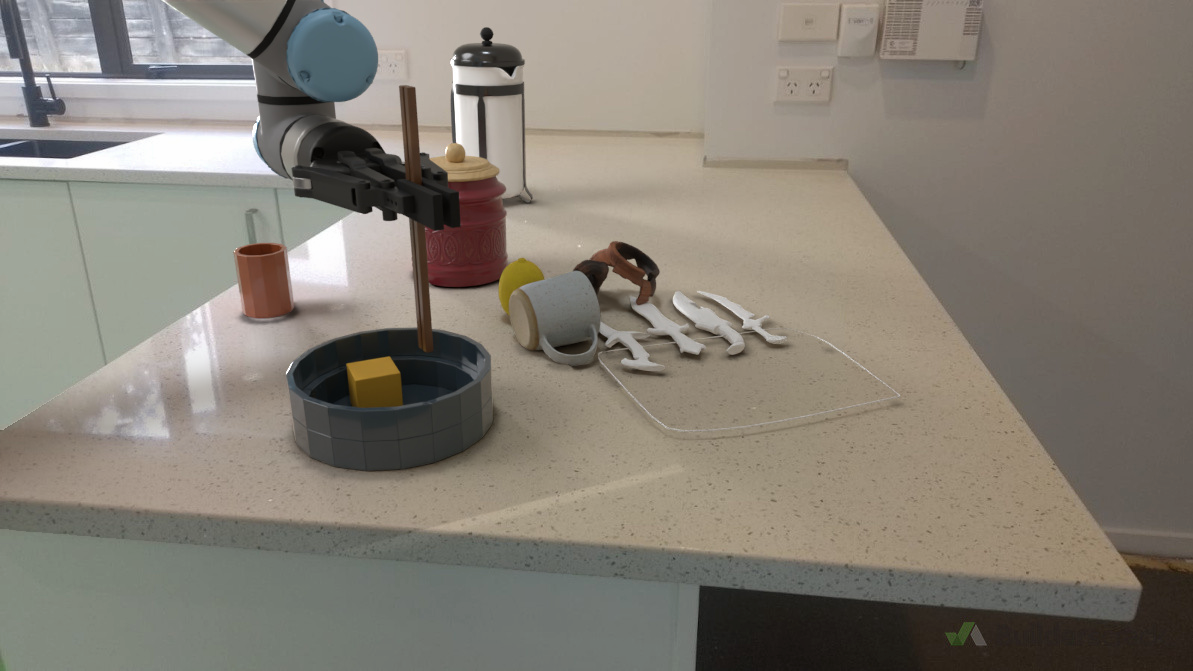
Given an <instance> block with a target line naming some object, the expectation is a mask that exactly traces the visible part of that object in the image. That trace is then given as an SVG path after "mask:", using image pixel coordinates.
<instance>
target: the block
mask: <svg viewBox="0 0 1193 671" xmlns="http://www.w3.org/2000/svg"><path fill="white" fill-rule="evenodd" d="M346 366H347V375H348V385H349V394H350V402H351V404H352V406H353V407H359V408H373V407H397V406H403V398H402V386H401V374H400V372H399V370H398V368H397V367H396V365H395V364H394V362H393V361H392V359H391V358H390V357H383V358H377V359H371V360H365V361H359V362H353V363H347V364H346Z"/></svg>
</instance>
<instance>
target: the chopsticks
mask: <svg viewBox="0 0 1193 671" xmlns="http://www.w3.org/2000/svg"><path fill="white" fill-rule="evenodd" d="M398 91H399V103H400V105H399V106H400V117H401V119H400V120H401V131H402V144H403V145H402V146H403V155H404V159H403V160H404V162H405V172H406V179H407V180H409V181H411V182H414V183H416V184H419V185H421V186H422V176H421V162H420V153H421V150H420V135H419V134H420V133H419V120H418V105H417V90H416V87H415V86H413V85H409V84H408V85H407V84H400V85H399V86H398ZM408 225H409V235H410V249H411V250H410V251H411V266H412V265H413V267H412V275H413V276H412V278H413V289H414V304H415V315H416V316H415V317H416V327H417V331H418V344H419V348H421V349H423V351H425V352H426V353H428V352H432V351H433V337H432V329H433V327H432V326H433V322H432V311H431V310H432V309H431V296H430V294H431V293H430V283H429V279H428V264H427V249H426V235H425V226H424V225H422V224H420V223H418V222H416V221H414V220H412V219H410V218H408Z"/></svg>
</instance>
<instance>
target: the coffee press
mask: <svg viewBox="0 0 1193 671" xmlns="http://www.w3.org/2000/svg"><path fill="white" fill-rule="evenodd" d="M494 35H495V33H494V31H493V29H492V28H490V27H489V26H488V27H487V26H486V27H482V28H481V30H480V33H479V36H480V38H481V40H482V41H481V42H472V43H471V42H470V43H465V44H461V45H460V46H458V47H457V48H455V50H454V51H453V53H452V58H450V59H449V63H450V66H451V67H452V80H453V81H451V91H450V124H451V139H452V140H451V141H452V143H458V144H461V145H462V146H463V148H464V150H465V154H466V155H465V156H475V157H481V158H484V159H487V160H488V161H489V163H491V164H492V165H494V166H496V167H497V168H499V174H498V175H496V177H497V179H498V181H500V182H501V183H503V184H504V185H505V186H506V192H505V193H504V194H503V196H502V199H503V200H505V199H510V198H514V197H515V198H516V197H517V198H519V199H521V200H522V201H523V202H524V203H526V204H530V203H531V202H532V200H533V199H534V196H533V194H532V193H531V192H530V190H529V189H528V186H527V168H526V167H527V160H526V159H527V157H526V154H527V153H526V109H525V108H526V107H525V106H526V104H525V81H524V67H525V64H526V59H524V58H523V55H522V53H521V51H520V50H519V49H518V48H517V47H516V46H514V45H511V44H508V43H501V42H493V41H492V39H493V37H494ZM524 190H525V192H526V194H527V196H528V197H529V198H530V200H527V198H525V197H524V196H523V195H521V194H522V193H523V191H524Z"/></svg>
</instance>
